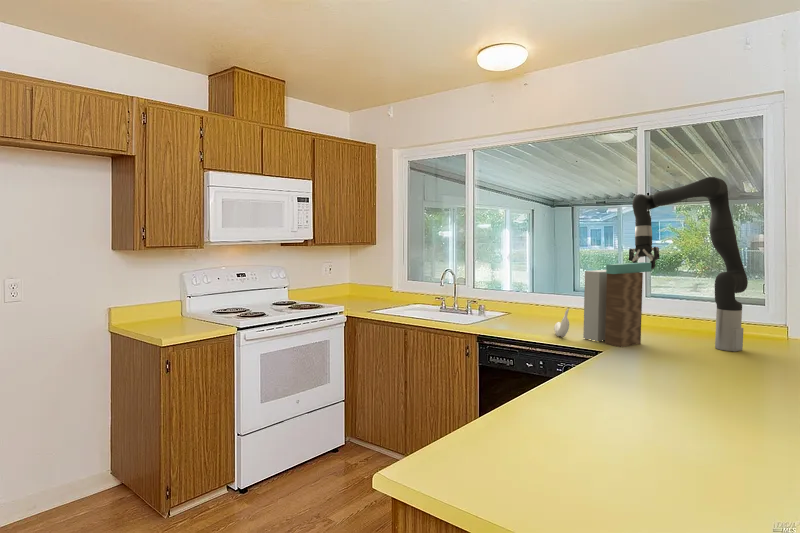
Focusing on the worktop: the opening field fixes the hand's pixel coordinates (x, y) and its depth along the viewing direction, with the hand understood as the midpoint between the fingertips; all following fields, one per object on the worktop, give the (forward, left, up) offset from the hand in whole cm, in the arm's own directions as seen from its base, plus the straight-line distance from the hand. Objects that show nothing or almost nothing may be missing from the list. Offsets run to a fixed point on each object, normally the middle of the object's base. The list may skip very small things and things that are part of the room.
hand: (643, 269), depth 254 cm
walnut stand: (-8, +25, -32) cm, 42 cm away
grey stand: (+4, +25, -32) cm, 41 cm away
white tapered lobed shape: (+18, +36, -32) cm, 52 cm away
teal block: (-8, +22, 0) cm, 24 cm away
